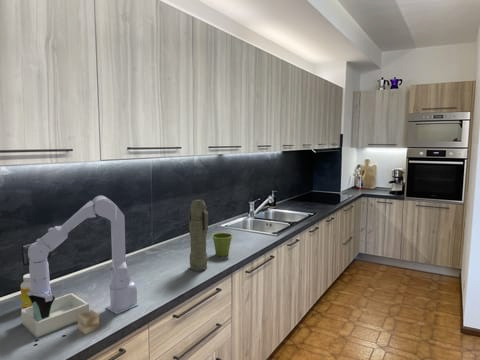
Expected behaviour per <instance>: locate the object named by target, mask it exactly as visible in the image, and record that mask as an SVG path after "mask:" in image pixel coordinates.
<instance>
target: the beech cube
mask: <svg viewBox="0 0 480 360" xmlns="http://www.w3.org/2000/svg"><path fill="white" fill-rule="evenodd" d="M77 329H78V330H79V331H80V332H81V333H83V334H85V335H86V334H87V335H88V334H89V333H91V332H93V330H94V331H96V330H98V329H100V313H98V312H96V311H94V310H93V309H89V311H87V312H85V313H82V314H79V315H78V322H77Z"/></svg>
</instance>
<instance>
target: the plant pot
mask: <svg viewBox="0 0 480 360" xmlns="http://www.w3.org/2000/svg"><path fill="white" fill-rule="evenodd" d="M211 237H212V240H213V244H214V251H215V255H216V256H217V257H220V256H221V257H227V256H229V253H230V249H231V248H230V246H231V241H232V237H233V234H232V233H228V232H215V233H213V234H211Z"/></svg>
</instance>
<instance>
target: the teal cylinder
mask: <svg viewBox="0 0 480 360" xmlns="http://www.w3.org/2000/svg"><path fill="white" fill-rule="evenodd" d="M32 305H33V318H34V319H35V320H36V321H37V322H38V321H41V320H44V319H46V318H49V317H50V314H49V317H46V318H44V319H42V318H41V315H40V310H39V307H38V305H37V303H36V302H33V304H32Z"/></svg>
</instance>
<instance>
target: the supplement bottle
mask: <svg viewBox="0 0 480 360" xmlns="http://www.w3.org/2000/svg"><path fill="white" fill-rule="evenodd" d="M22 279H23V282H21V284H20V295H21V296H20V299H21V300H20V302H21V310H22V309H25V308H28V307H31V306H33V305H32V302H31V300H30V298H29V297H28V296H27V292H30V272H29V273H26V274H24V275H23V277H22Z"/></svg>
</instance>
